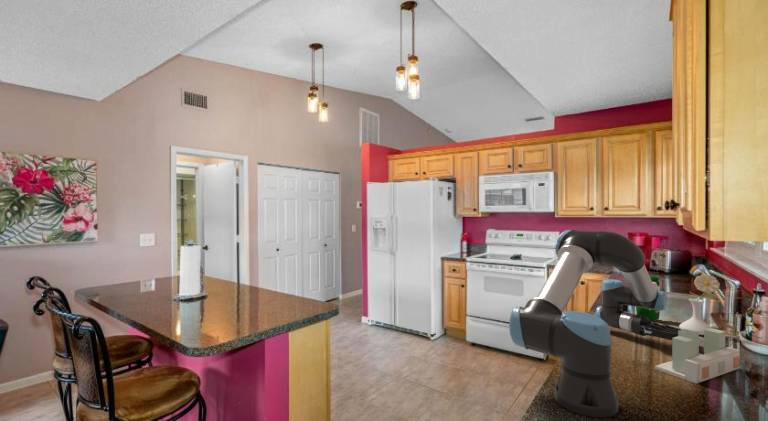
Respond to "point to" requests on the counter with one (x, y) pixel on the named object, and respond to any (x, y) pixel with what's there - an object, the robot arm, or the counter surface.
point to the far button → (713, 340)
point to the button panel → (695, 364)
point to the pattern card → (719, 366)
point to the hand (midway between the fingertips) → (706, 343)
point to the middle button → (693, 336)
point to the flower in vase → (700, 303)
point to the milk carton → (650, 313)
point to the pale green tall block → (681, 352)
